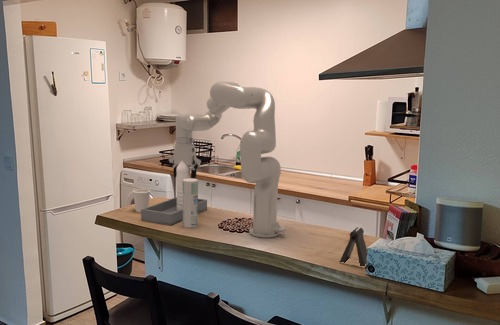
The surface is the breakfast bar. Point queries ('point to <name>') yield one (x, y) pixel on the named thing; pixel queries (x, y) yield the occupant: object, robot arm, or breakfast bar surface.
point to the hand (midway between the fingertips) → (184, 177)
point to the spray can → (190, 203)
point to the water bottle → (181, 182)
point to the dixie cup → (141, 198)
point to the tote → (168, 212)
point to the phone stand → (360, 244)
